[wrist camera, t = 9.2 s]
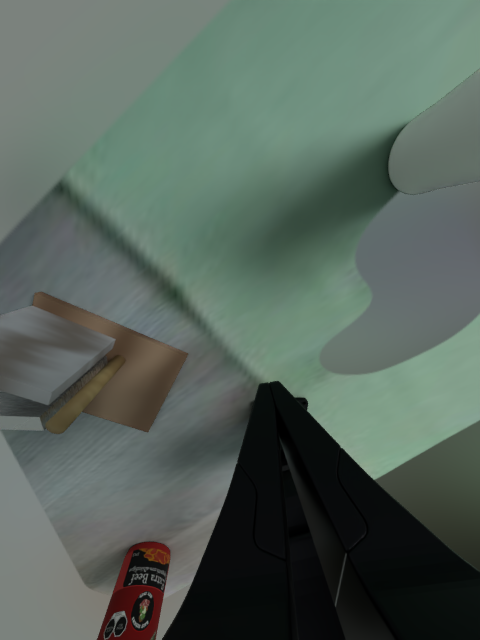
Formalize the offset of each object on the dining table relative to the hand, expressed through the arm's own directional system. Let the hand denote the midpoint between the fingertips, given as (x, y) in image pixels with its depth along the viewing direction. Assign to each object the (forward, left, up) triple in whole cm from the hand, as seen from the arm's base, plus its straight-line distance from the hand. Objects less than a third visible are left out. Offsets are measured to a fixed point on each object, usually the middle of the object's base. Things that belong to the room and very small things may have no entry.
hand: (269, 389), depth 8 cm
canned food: (-45, +18, -12) cm, 50 cm away
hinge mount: (-7, +16, -12) cm, 21 cm away
